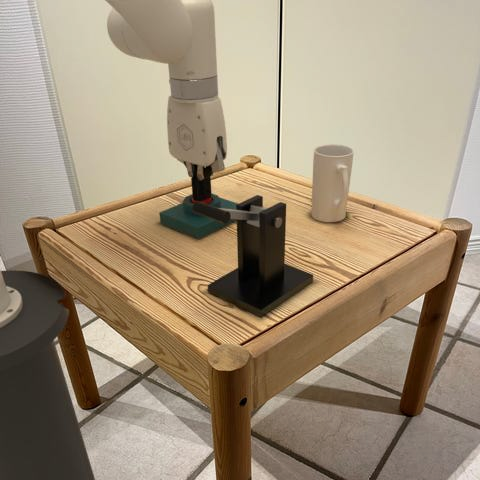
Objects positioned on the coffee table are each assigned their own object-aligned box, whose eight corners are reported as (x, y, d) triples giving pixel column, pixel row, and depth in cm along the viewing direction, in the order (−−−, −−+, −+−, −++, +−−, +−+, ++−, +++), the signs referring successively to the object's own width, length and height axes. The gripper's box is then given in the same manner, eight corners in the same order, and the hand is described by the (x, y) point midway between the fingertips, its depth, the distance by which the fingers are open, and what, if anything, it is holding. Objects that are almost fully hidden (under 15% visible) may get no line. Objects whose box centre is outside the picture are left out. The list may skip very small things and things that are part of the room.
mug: (305, 210, 97) (308, 146, 90) (338, 206, 98) (344, 142, 91) (323, 233, 89) (328, 164, 82) (359, 228, 90) (368, 160, 83)
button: (202, 213, 91) (201, 204, 90) (188, 208, 93) (187, 199, 92) (216, 207, 93) (215, 197, 92) (202, 202, 95) (201, 193, 94)
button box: (198, 239, 88) (197, 217, 85) (160, 223, 93) (157, 203, 91) (245, 216, 95) (244, 196, 93) (206, 203, 100) (205, 183, 98)
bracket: (261, 317, 68) (261, 230, 61) (207, 292, 74) (202, 208, 67) (313, 281, 76) (318, 199, 68) (261, 260, 81) (261, 182, 74)
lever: (220, 227, 59) (225, 207, 58) (190, 216, 62) (194, 196, 61) (279, 231, 68) (284, 213, 68) (251, 221, 71) (255, 204, 70)
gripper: (145, 86, 83) (158, 194, 94) (211, 99, 75) (218, 216, 85) (179, 78, 87) (188, 182, 98) (245, 89, 79) (247, 202, 90)
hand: (202, 198), depth 92 cm, fingers closed
